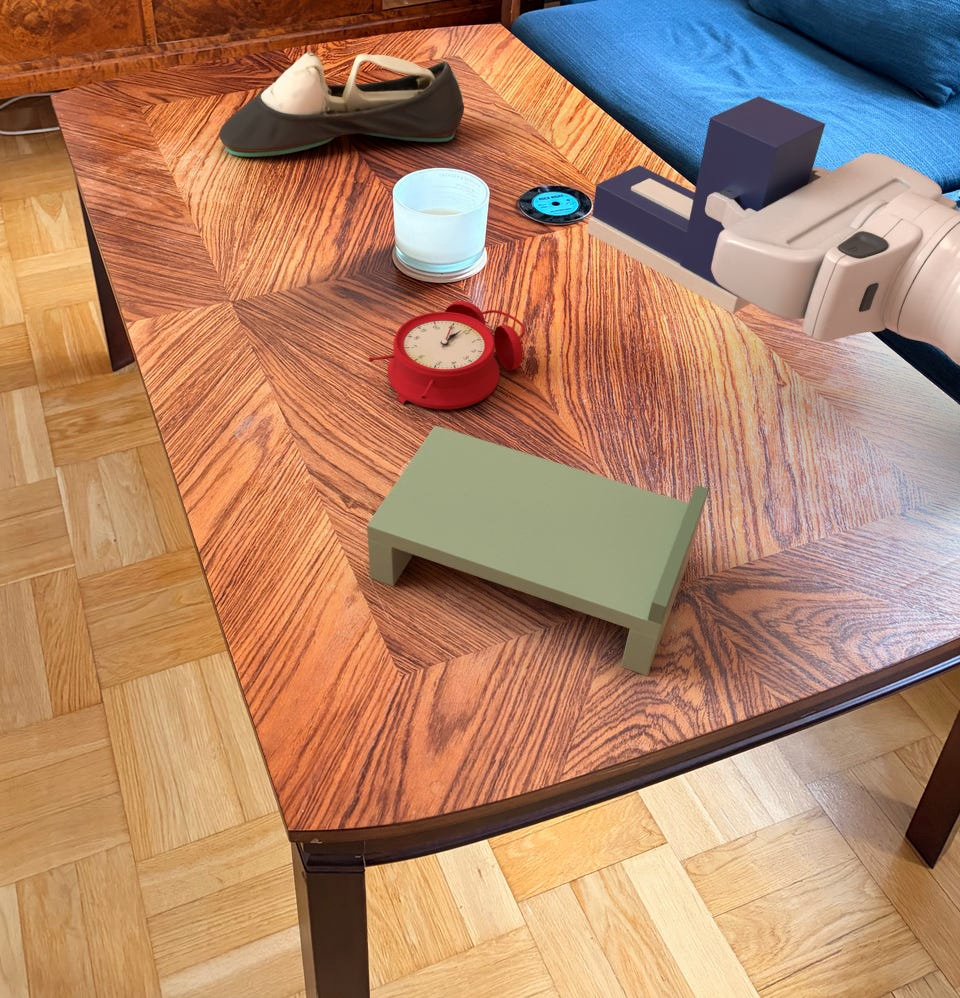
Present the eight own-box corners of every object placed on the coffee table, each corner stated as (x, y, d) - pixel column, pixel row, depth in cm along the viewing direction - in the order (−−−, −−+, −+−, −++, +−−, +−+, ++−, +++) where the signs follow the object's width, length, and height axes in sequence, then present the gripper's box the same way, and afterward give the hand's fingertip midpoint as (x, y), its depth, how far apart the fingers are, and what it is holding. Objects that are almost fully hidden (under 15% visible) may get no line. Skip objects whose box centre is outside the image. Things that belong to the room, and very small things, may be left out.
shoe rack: (689, 559, 79) (709, 488, 73) (647, 676, 71) (666, 606, 65) (434, 478, 84) (435, 405, 79) (369, 578, 76) (365, 506, 71)
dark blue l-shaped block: (779, 285, 83) (827, 122, 73) (732, 314, 80) (775, 148, 70) (634, 209, 91) (659, 53, 81) (586, 233, 88) (606, 73, 78)
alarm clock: (353, 348, 90) (468, 255, 95) (368, 393, 95) (476, 303, 101) (433, 402, 85) (549, 302, 91) (444, 447, 91) (554, 349, 96)
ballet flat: (217, 130, 127) (203, 46, 119) (449, 109, 133) (451, 28, 126) (225, 169, 120) (211, 82, 112) (470, 145, 126) (472, 62, 119)
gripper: (988, 173, 73) (828, 108, 80) (832, 272, 63) (664, 188, 70) (956, 249, 78) (807, 181, 85) (805, 352, 68) (650, 266, 75)
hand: (741, 185), depth 77 cm, fingers closed on dark blue l-shaped block, 6 cm apart
